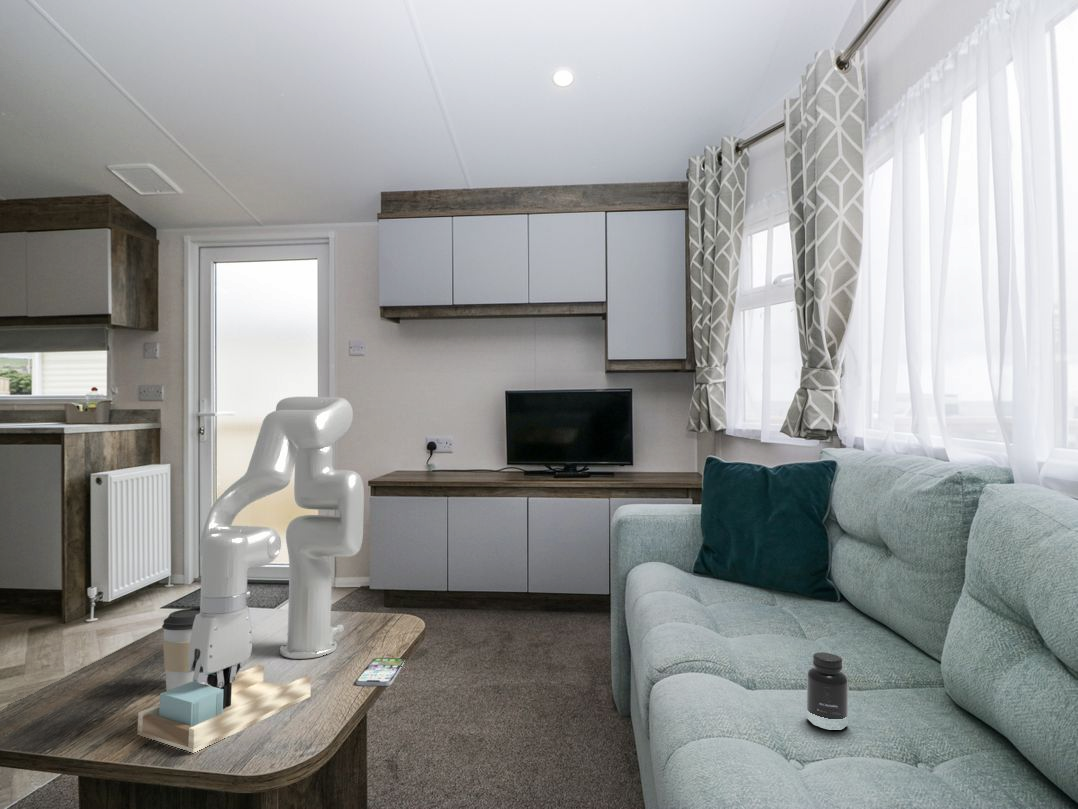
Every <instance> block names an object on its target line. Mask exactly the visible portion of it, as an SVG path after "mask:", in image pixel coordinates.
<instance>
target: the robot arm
mask: <svg viewBox="0 0 1078 809" xmlns="http://www.w3.org/2000/svg"><path fill="white" fill-rule="evenodd" d="M353 419H354V412H353V407H352V405H351V403H350V402H349V401H348V400H347V399H346V398H344V397H339V396H291V397H285V398H283V399H281V400H280V401H278V402H277V404H276V407H275V410H274V411H271V412H269V413H268V414H267V415H266V416H265V417H264V418H263V420H262V423H261V425H260V426H261V427H260V429H259V432H258V435H257V439H256V441H255V445H254V449H253V451H252V455H251V457H250V460H249V464H248V467H247V470H246V472H245V474H243V476H241V477H240V478H239V479H237V480H236V481H235V482H233V484H231V485H230V486H228V488H227V489H226V490H225V491H223V493H222V494H221V495H220V496H219V497H217V499H216V500H215V502H214V503H213V504H212V506H211V508H210V510H209V513H208V514H207V518H206V521H205V524H204V526H203V529H202V532H201V537H200V540H199V541H200V543H199V553H200V557H201V568H200V571H201V572H200V604H199V607H200V614H197V615H196V616H195V620H194V623H193V627H192V632H191V638H190V646H189V658H188V668H189V670H191V671H194V676H193V681H194V682H198V683H202V682H205V683H207V685H211V686H212V687H216V688H220V689H224V690H223V709H225V708H226V707H229V706H231V690H232V683H233V682H234V681H235V678H236V674H238V673H239V671H240V670H241V669H242V668H243V667H245V666H246V665H248V664H249V662H250V657H251V655H252V649H253V626H252V617H251V612H250V608H249V606H248V605H247V604H248V603H247V600H248V598H249V597H250V596H251V592H250V590H248V570H249V569H252V568H259V567H264V566H267V565H269V564H271V563H272V562H273V561H275V560H276V558H277V557H278V556H279V554H280V552H281V549H282V548H281V547H282V540H281V537H280V535H279V533H278V532H277V531H276V530H275V529H273V528H270V527H268V526H256V525H255V526H254V525H253V526H249V525H232V524H233V522H234V520H235V518H236V517H237V516H238V514H239V513H240V512H241V511H242V510H243V509H244V508H246V507H247V506H249V505H251V504H252V503H254V502H256V501H258V500H261V499H262V498H266V497H268V496H271V495H272V494H275V493H277V492H280V491H282V490H284V489H285V488H286V487H287V486H289V485H290V482H291V478H292V474H293V472H294V478H293V479H294V483H293V484H294V487H293V488H294V489H293V492H294V495H293V496H294V501H295V503H296V505H297V506H298V507H299V508H301V509H306V510H315V511H316V510H321V511H324V510H325V511H338V513H339V515H329V514H325V515H324V514H304V515H299V516H297V517H295V518H293V519H292V520H291V521H290V522H289V524H288V525H287V528H286V532H285V540H286V541H285V542H286V547H287V548H286V549H287V554H288V562H289V564H288V567H289V570H288V571H289V572H288V574H289V577H288V579H289V580H288V581H289V582H288V611H287V614H288V616H287V642H285V643H283V644H282V645H281V646H280V647H279V654H280V655H281V656H282V657H284V658H288V659H294V660H299V659H300V660H303V659H304V660H305V659H314V658H318V657H322V656H323V655H324V656H326V654H327V655H329V654H331V653H333V652H335V650H337V646H338V644H337V643H338V642H337V641H336V640H335V639H334V637H335V635H337V634H340V633H342V632H344V630H345V629H344V625H343V624H341V623H339V624H337V625H334V626H332V625H331V618H332V617H331V614H332V582H333V580H332V578H333V577H332V571H331V568H330V565H329V564H328V562H327V559H325V557H334V558H335V557H336V558H337V557H338V558H339V557H341V558H345V557H348V558H349V557H353V556H355V555H357V554H358V553H359V552H360V550H361V548H362V546H363V545H362V544H363V538H364V537H363V536H364V516H365V515H364V510H365V509H364V508H365V506H364V504H365V493H364V492H365V489H364V483H363V480H362V479H363V478H362V477H361V475H360V474H359V473H358V472H356V471H354V470H351V469H335V468H334V467H333V466H334V465H333V453H334V452H333V451H334V450H333V446H332V445H333V444H334V443H335V442H337V440H339V439H340V438H341V437H342V436H344V435H345V434H346V433H347V432H348V430H349V429H350V427H351V426H352V423H353Z"/></svg>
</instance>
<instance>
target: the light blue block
mask: <svg viewBox="0 0 1078 809" xmlns="http://www.w3.org/2000/svg"><path fill="white" fill-rule="evenodd" d="M223 690H224V689H220V688H216V687H212V686H208V684H206V683H205V684H201V683H197V682H193V681H192V682H189V683H187V684H184V685H181V686H179V687H176V688H173V689H171V690H168V691H167V690H166V691H163V692H160V693H159V704H160V707H159V717H163V718H166V719H169V720H172V721H176V722H179V723H182V724H185V725H189V726H192V727H193V726H195V725H197V724H200V723H202V722H204V721H206V720H209V719H211V718H213V717H215V716H217V715H220V714H222V713H223Z"/></svg>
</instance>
